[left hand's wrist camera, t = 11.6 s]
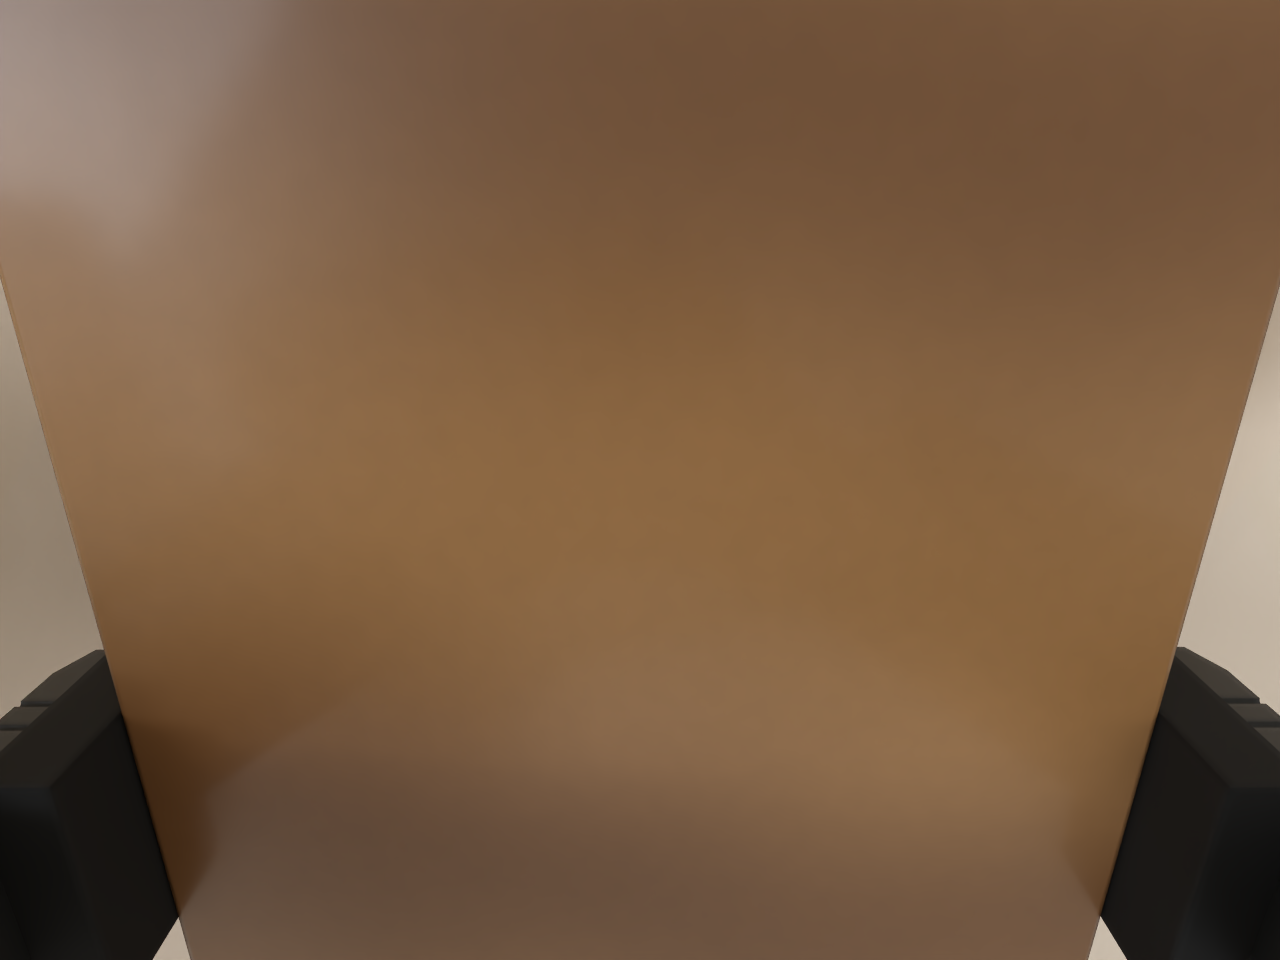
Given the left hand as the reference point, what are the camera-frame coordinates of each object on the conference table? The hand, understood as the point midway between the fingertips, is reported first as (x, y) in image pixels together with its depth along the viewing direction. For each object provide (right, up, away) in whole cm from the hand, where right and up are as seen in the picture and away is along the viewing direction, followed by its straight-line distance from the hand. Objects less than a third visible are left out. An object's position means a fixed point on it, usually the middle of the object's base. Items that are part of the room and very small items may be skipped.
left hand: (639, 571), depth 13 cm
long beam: (0, +23, -8) cm, 25 cm away
